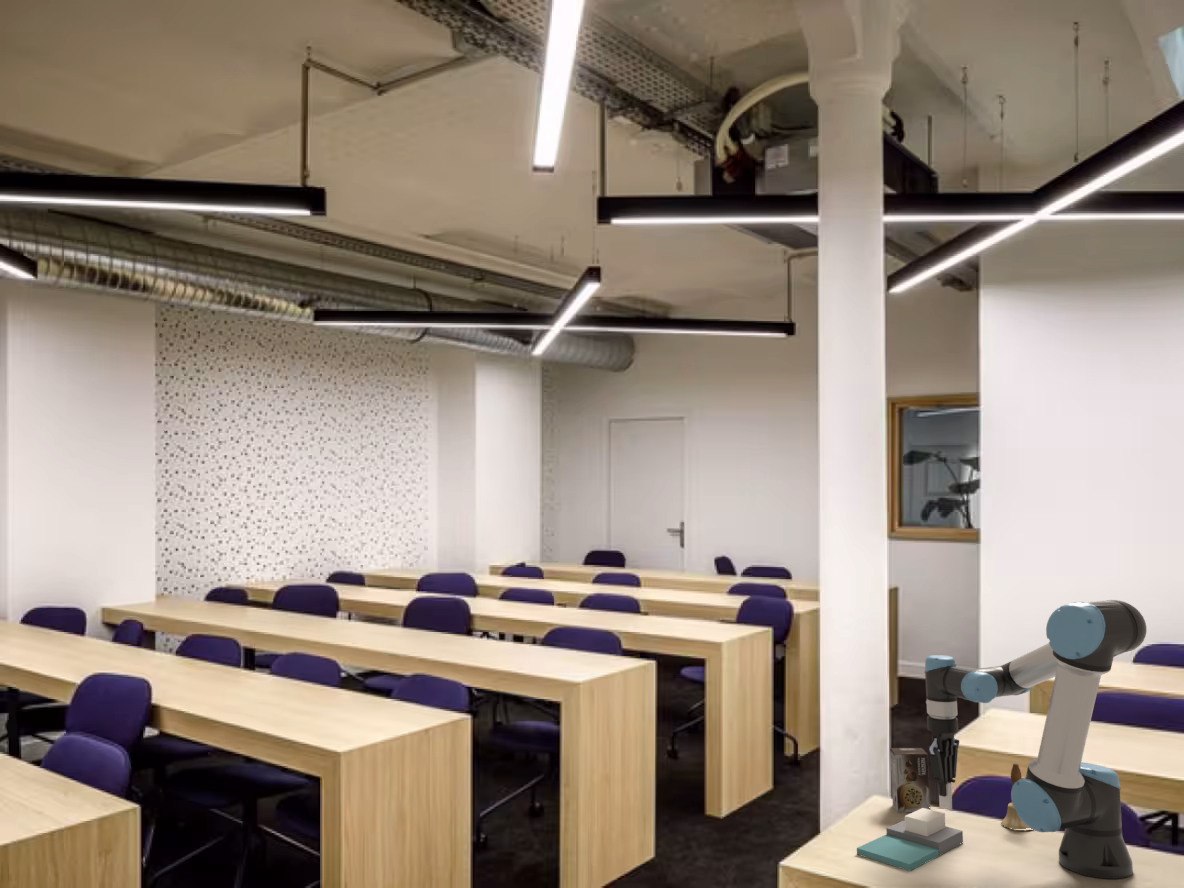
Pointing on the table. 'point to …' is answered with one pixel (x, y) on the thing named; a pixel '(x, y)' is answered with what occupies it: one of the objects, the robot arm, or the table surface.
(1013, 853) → the table surface
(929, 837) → the plate
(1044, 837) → the table surface
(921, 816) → the white rectangular block
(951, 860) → the table surface
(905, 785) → the coffee box
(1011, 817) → the hand bell
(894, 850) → the mat
